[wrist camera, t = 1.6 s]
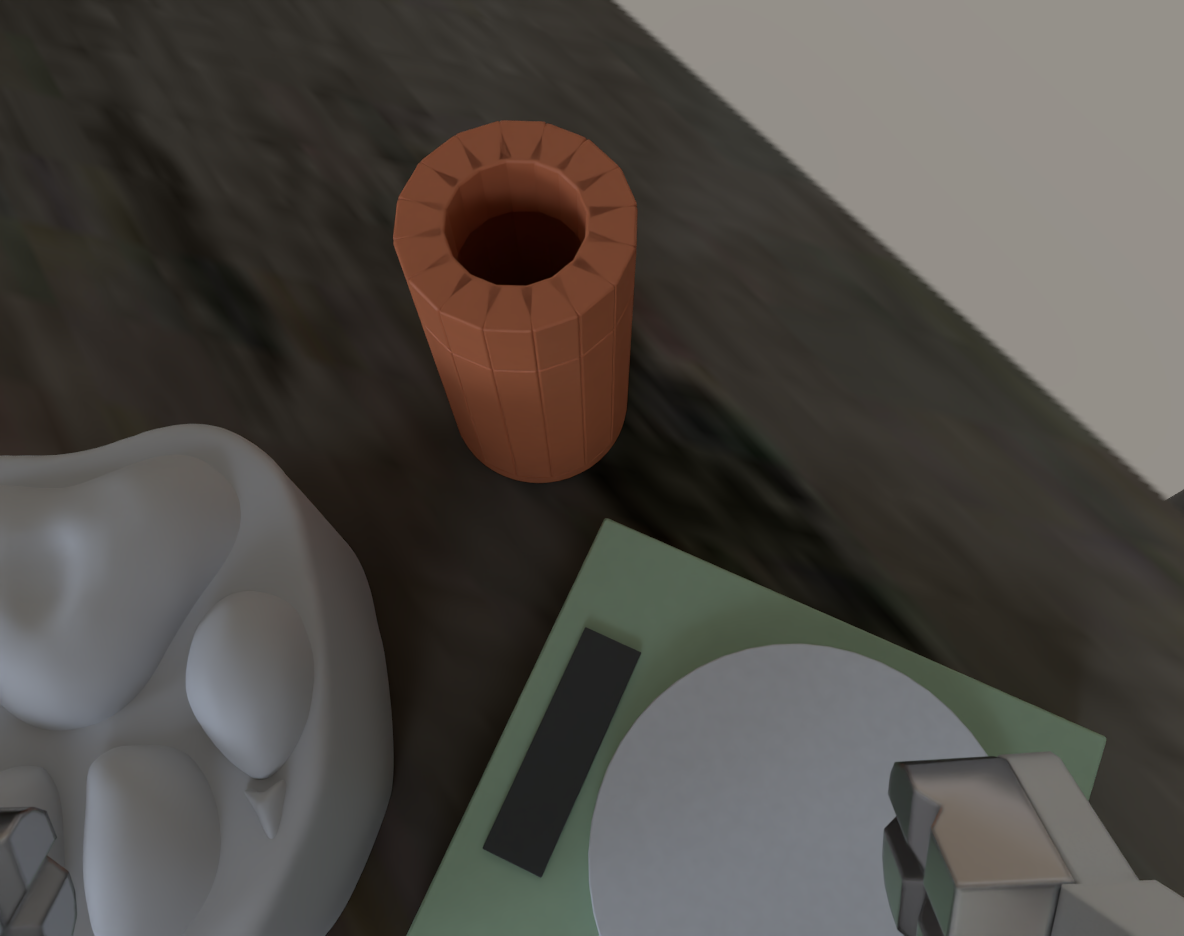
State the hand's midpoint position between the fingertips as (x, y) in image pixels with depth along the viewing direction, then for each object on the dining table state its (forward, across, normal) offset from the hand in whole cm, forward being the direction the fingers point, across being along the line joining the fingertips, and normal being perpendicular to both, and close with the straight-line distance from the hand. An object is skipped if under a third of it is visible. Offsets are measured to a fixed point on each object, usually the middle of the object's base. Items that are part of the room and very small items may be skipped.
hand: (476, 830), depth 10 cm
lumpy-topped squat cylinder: (+15, +9, +12) cm, 21 cm away
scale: (+13, -5, +14) cm, 20 cm away
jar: (+22, 0, +4) cm, 22 cm away
